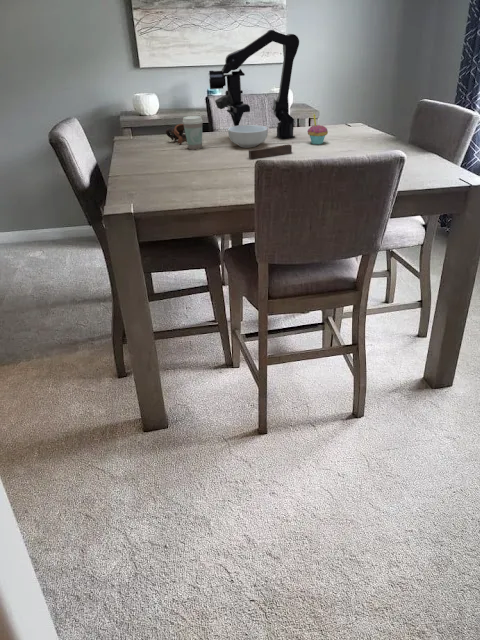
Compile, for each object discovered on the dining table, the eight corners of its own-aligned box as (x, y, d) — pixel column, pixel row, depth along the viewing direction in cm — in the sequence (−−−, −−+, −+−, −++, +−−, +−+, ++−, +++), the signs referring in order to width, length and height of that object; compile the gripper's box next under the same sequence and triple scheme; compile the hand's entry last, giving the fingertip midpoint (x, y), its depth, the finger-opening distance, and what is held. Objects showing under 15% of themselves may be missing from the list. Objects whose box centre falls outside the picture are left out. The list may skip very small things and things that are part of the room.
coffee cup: (188, 151, 207) (184, 119, 200) (183, 147, 213) (179, 116, 206) (207, 148, 209) (205, 117, 202) (202, 144, 216) (199, 114, 209)
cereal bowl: (254, 151, 202) (253, 133, 198) (221, 148, 209) (220, 130, 205) (275, 143, 214) (275, 125, 210) (243, 140, 221) (242, 123, 217)
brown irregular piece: (192, 140, 227) (194, 124, 220) (189, 154, 222) (191, 138, 215) (166, 133, 225) (167, 118, 218) (162, 147, 220) (163, 132, 213)
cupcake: (304, 144, 210) (305, 113, 203) (310, 140, 216) (311, 110, 210) (324, 145, 207) (325, 114, 200) (329, 141, 214) (331, 111, 207)
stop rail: (289, 152, 200) (289, 144, 198) (291, 153, 198) (291, 145, 196) (248, 158, 193) (248, 150, 192) (250, 159, 192) (250, 151, 190)
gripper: (208, 87, 214) (211, 126, 223) (224, 92, 200) (227, 133, 208) (232, 85, 218) (234, 123, 226) (249, 89, 203) (251, 130, 212)
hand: (236, 127), depth 218 cm, fingers closed
